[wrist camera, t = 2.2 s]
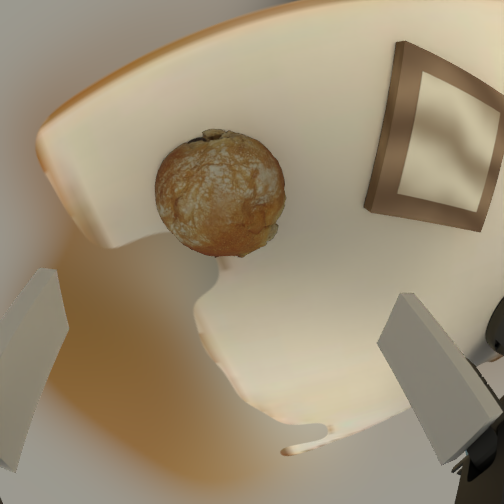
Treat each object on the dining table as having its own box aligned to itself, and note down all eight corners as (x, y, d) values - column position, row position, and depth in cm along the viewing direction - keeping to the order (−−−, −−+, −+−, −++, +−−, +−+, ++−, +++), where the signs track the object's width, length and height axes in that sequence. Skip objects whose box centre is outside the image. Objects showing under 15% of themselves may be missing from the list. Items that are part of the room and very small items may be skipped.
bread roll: (257, 126, 27) (251, 91, 19) (303, 230, 28) (315, 231, 20) (159, 171, 28) (122, 153, 20) (201, 273, 29) (175, 290, 21)
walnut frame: (472, 227, 31) (481, 232, 29) (363, 206, 28) (371, 212, 27) (503, 100, 23) (513, 102, 22) (396, 42, 21) (405, 40, 19)
